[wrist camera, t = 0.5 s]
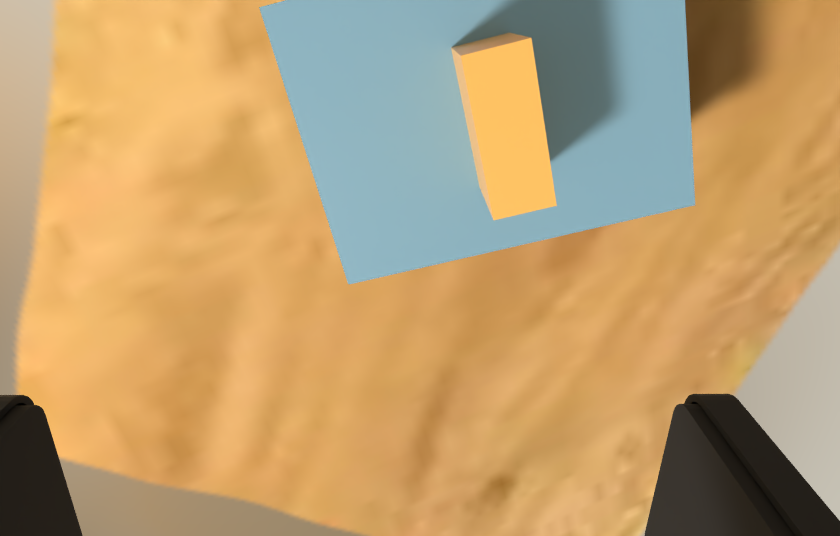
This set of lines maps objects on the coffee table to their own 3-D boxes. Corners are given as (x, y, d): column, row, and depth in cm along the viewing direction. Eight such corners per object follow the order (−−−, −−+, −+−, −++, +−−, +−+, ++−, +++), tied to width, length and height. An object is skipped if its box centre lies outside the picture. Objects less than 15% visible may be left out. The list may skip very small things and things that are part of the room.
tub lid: (658, -97, 24) (743, -132, 18) (676, 192, 29) (747, 241, 23) (270, 7, 25) (227, 7, 19) (352, 267, 30) (338, 332, 24)
